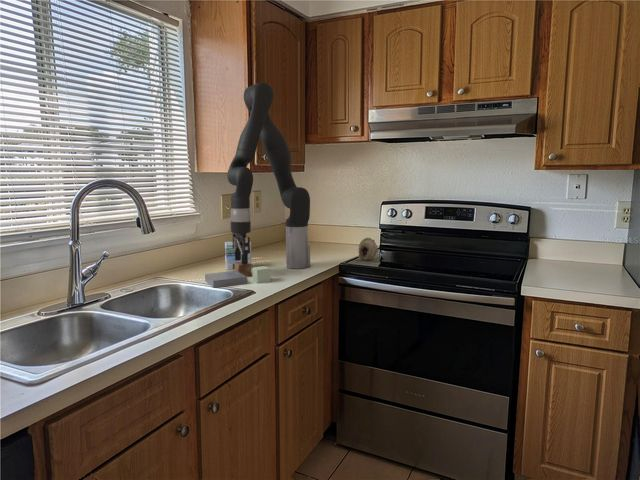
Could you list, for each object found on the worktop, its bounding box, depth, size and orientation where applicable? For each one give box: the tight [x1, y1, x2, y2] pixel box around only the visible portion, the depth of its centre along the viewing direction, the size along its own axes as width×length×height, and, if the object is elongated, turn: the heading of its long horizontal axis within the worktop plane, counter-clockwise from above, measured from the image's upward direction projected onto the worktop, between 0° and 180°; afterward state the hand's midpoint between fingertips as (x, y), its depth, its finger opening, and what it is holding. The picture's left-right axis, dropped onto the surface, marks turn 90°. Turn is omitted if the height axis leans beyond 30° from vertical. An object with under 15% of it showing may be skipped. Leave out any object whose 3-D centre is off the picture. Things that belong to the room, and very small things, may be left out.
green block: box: [251, 265, 271, 284], centre depth 165 cm, size 5×5×5 cm
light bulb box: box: [224, 241, 252, 271], centre depth 188 cm, size 11×7×11 cm, turn 105°
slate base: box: [204, 270, 248, 289], centre depth 164 cm, size 12×12×2 cm
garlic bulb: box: [357, 237, 378, 261], centre depth 203 cm, size 9×8×10 cm
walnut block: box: [234, 262, 253, 278], centre depth 174 cm, size 5×5×5 cm
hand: (241, 262), depth 173 cm, fingers open, 8 cm apart
